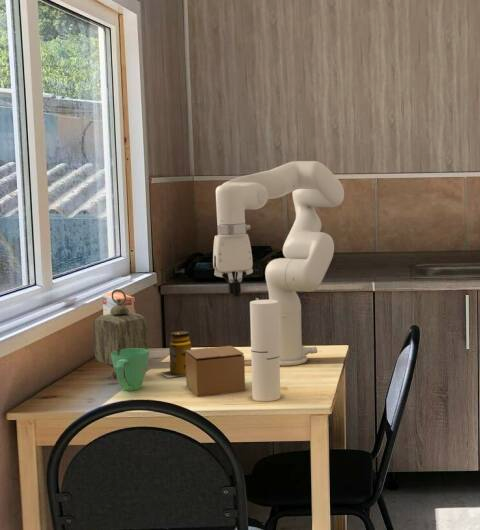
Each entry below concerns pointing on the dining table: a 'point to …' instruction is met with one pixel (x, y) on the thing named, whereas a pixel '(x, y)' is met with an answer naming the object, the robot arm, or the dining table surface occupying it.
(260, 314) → the cylindrical container
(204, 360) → the carton
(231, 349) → the flap
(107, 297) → the cracker box
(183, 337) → the condiment
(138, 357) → the mug
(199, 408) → the dining table surface
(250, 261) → the robot arm
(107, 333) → the tabletop clock
